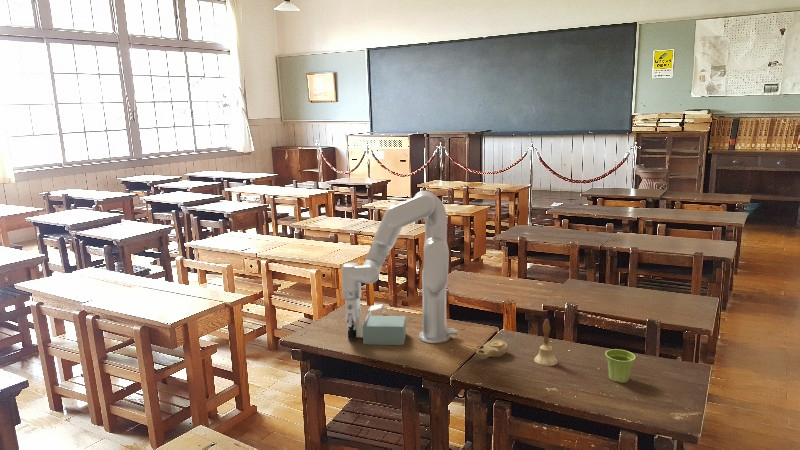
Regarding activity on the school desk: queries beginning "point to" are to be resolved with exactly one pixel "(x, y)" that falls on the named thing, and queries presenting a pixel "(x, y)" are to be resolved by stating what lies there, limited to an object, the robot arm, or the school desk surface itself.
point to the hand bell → (546, 349)
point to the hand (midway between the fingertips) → (353, 336)
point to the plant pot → (619, 364)
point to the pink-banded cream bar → (358, 329)
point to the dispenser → (384, 330)
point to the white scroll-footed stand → (376, 308)
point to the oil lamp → (492, 349)
